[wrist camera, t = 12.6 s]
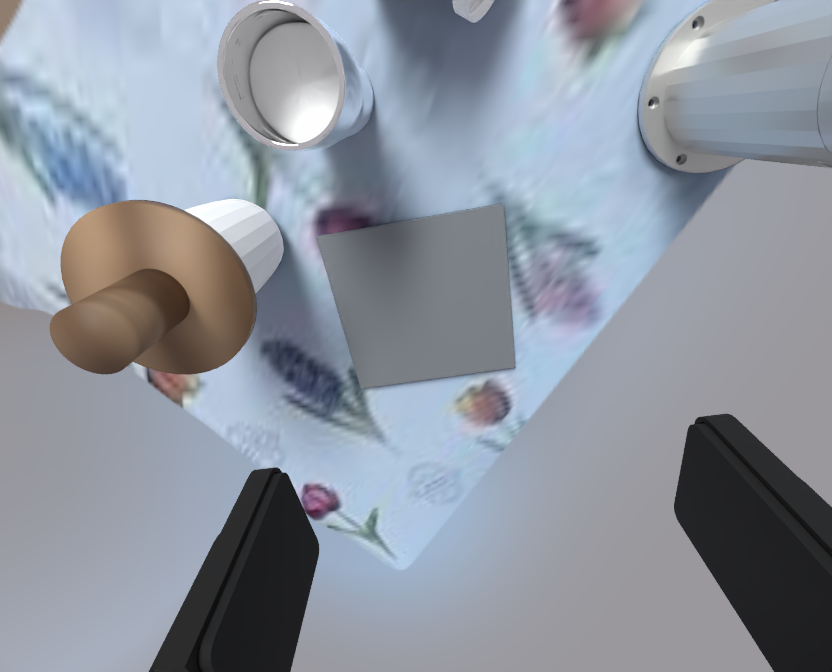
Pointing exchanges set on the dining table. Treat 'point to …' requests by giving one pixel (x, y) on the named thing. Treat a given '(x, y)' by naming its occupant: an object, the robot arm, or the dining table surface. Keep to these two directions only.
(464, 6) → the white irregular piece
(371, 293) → the mat
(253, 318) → the lid
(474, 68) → the dining table surface
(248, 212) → the cup
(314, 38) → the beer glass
